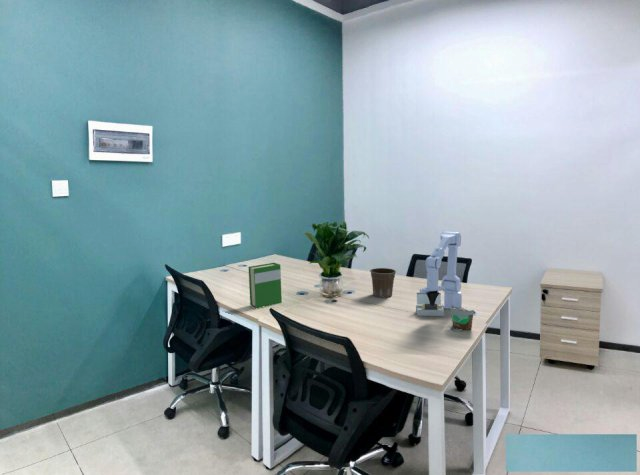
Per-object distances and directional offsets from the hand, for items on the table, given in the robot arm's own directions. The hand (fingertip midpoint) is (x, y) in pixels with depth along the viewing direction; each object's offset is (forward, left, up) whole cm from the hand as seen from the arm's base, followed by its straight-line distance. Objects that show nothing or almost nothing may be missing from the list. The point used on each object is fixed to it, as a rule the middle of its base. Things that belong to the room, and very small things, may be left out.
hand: (432, 304), depth 217 cm
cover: (0, -13, -1) cm, 13 cm away
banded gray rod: (0, -6, -3) cm, 6 cm away
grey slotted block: (0, -9, -8) cm, 12 cm away
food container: (-12, +12, -8) cm, 19 cm away
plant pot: (+24, -44, -8) cm, 51 cm away
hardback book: (+95, -21, -8) cm, 98 cm away
